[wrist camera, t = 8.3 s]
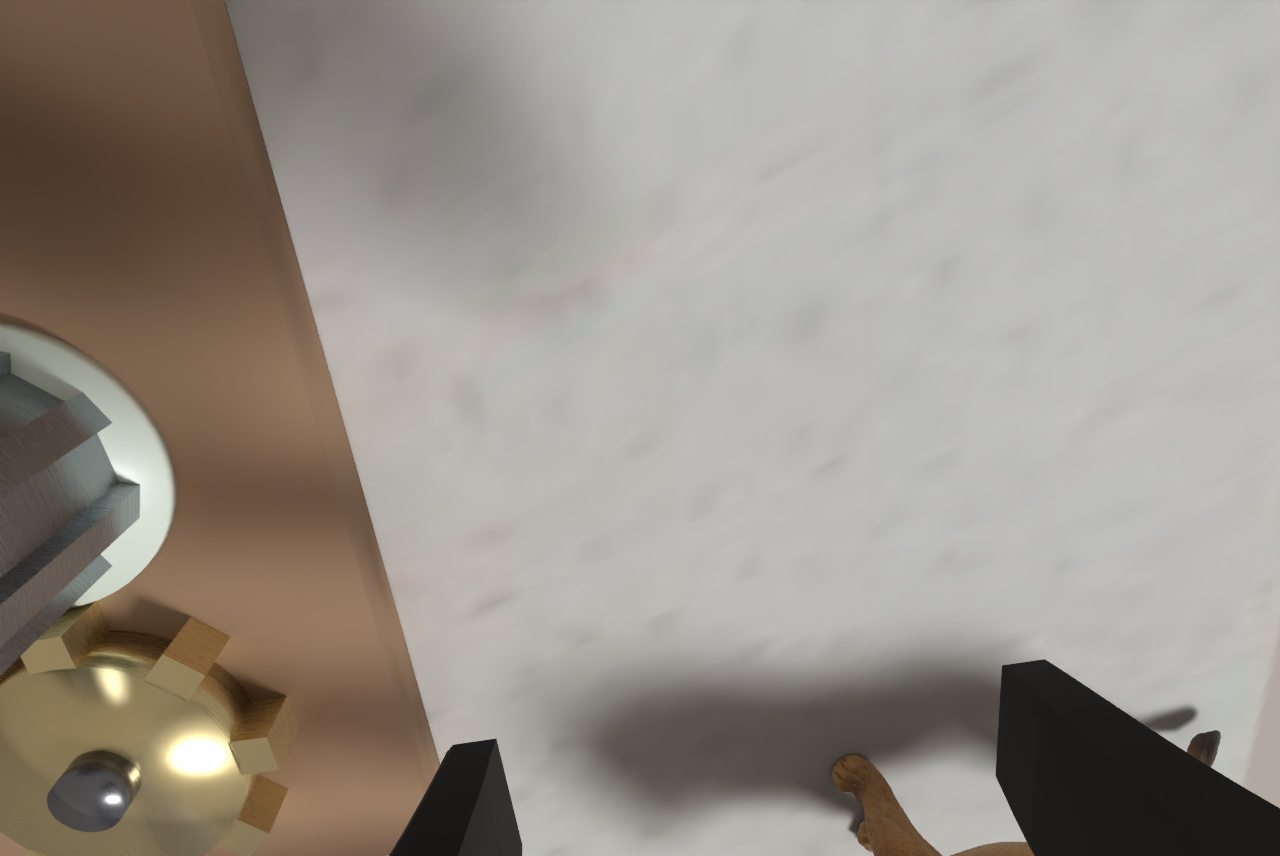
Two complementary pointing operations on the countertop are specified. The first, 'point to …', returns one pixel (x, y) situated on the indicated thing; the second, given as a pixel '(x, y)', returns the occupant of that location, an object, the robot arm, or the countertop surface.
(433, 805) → the robot arm
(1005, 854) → the lion figurine
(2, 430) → the grey gear
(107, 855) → the gear board
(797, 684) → the countertop surface
